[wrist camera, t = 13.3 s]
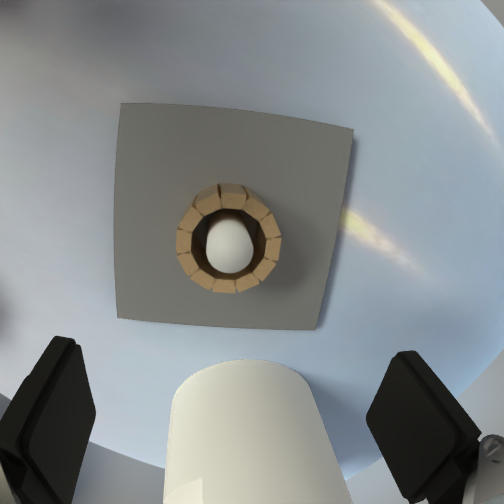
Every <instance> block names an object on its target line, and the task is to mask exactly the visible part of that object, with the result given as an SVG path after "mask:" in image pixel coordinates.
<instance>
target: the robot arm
mask: <svg viewBox="0 0 504 504" xmlns="http://www.w3.org/2000/svg"><path fill="white" fill-rule="evenodd" d="M95 417H96V410H95V405H94V402H93V398H92V394H91V390H90V386H89V382H88V378H87V373H86V369H85V364H84V359H83V354H82V349H81V346H80V345H78V344H76V342H75V340H74V339H72V338H66V337H61V336H55V337H54V338H53V339H52V340H51V342H50V343H49V345H48V346H47V348H46V349H45V351H44V353H43V354H42V356H41V357H40V359H39V360H38V362H37V363H36V365H35V367H34V368H33V370H32V371H31V373H30V375H28V376H27V377H26V378H25V379H24V381H23V382H22V384H21V386H20V387H19V389H18V391H17V392H16V394H15V396H14V397H13V399H12V401H11V403H10V405H9V406H8V408H7V410H6V411H5V413H4V415H3V417H2V419H1V421H0V504H71V503H72V499H73V495H74V491H75V487H76V483H77V479H78V476H79V472H80V468H81V465H82V461H83V457H84V454H85V451H86V447H87V444H88V440H89V437H90V434H91V431H92V428H93V424H94V421H95ZM366 422H367V425H368V427H369V429H370V431H371V433H372V435H373V437H374V439H375V441H376V443H377V445H378V447H379V449H380V451H381V453H382V455H383V457H384V459H385V461H386V463H387V465H388V467H389V469H390V471H391V473H392V476H393V478H394V480H395V482H396V484H397V486H398V488H399V490H400V492H401V494H402V496H403V497H404V498H406V499H408V501H409V503H410V504H415V503H417V502H420V501H423V500H424V499H425V498H427V500H428V504H504V438H503V437H501V436H499V435H494V434H491V435H487V436H485V437H484V438H483V439H482V440H481V441H480V442H479V441H478V440H477V439H478V437H479V436H480V435H481V434H482V432H481V431H480V430H479V429H478V427H477V426H476V425H475V423H474V422H473V421H472V419H471V418H470V417H469V416H468V414H467V413H466V412H465V410H464V409H463V408H462V407H461V405H460V404H459V403H458V401H457V400H456V399H455V398H454V396H453V395H452V394H451V393H450V391H449V390H448V389H447V388H446V386H445V385H444V384H443V383H442V382H441V380H440V379H439V378H438V377H437V375H436V374H435V373H434V372H433V371H432V369H431V368H430V367H429V366H428V365H427V363H426V362H425V361H424V360H423V359H422V357H421V356H420V355H419V354H418V353H417V352H416V351H402V352H398V353H397V354H396V356H395V357H393V358H392V360H391V362H390V364H389V366H388V369H387V371H386V373H385V376H384V378H383V380H382V383H381V385H380V387H379V389H378V391H377V394H376V396H375V398H374V400H373V402H372V404H371V406H370V408H369V410H368V412H367V415H366Z"/></svg>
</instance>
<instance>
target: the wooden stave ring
mask: <svg viewBox="0 0 504 504" xmlns="http://www.w3.org/2000/svg"><path fill="white" fill-rule="evenodd" d="M221 208H230V209H241V210H244V211H245V212H247V213H248V214H250V215H251V216H252V217H254V218H255V219H257V229H256V237H255V238H254V239H253V241H252V245H253V256H252V259H251V261H250V263H249V264H248V265H247V266H246V267H245V268H244V269H242V270H240V271H238V272H235V273H224V272H221V271H219V270H217V269H215V268H214V267H213V266H212V265H211V264H210V262H209V260H208V258H207V254H206V248H205V247H203V246H202V245H201V243H200V241H199V239H198V237H197V235H196V233H195V227H196V226H197V225H198V223H199V222H200V220H201V219H202V217H203V216H205V215H207V214H210V213H212V212H214V211H216V210H218V209H221ZM280 235H281V233H280V231H279V228H278V226H277V223H276V221H275V219H274V216H273V214H272V212H271V211H270V210H269V208H268V207H267V206H266V205H265V203H264V202H263V201H262V199H261V198H260V197H259V196H257V195H256V194H255V193H253V192H252V191H250V190H249V189H248V188H246V187H245V186H243V188H242V186H241V185H240V184H230V183H220V188H219V186H218V184H214V185H212V186H210V187H208V188H206V189H204V190H201V191H199V193H198V195H197V194H196V195H195V196H194V198H193V199H192V201H191V202H190V203H189V205H188V206H187V208H186V209H185V211H184V213H183V216H182V218H181V220H180V223H179V225H178V228H177V236H176V253H177V258H178V260H179V262H180V264H181V266H182V267H183V269H184V271H185V273H186V275H187V276H189V275H190V279H191V280H192V281H194V282H196V283H197V284H199V285H201V286H202V287H204V288H205V289H207V290H210V289H211V287H212V286H213V292H222V293H235V291H236V288H237V290H238V292H242V291H244V290H246V289H249V288H251V287H253V286H256V285H258V284H260V283H259V280H258V279H260V280H261V281H263V280H264V279H265V278H266V277H267V275H268V274H269V273H270V272H271V270H272V269H273V268H274V267H275V265H276V262H275V260H277V261H278V259H279V252H280V246H281V239H282V238H281V237H280Z"/></svg>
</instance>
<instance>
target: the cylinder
mask: <svg viewBox="0 0 504 504" xmlns="http://www.w3.org/2000/svg"><path fill="white" fill-rule="evenodd" d="M163 504H353V502H352V499H351V497H350V494H349V491H348V488H347V486H346V483H345V480H344V477H343V475H342V472H341V469H340V467H339V464H338V461H337V459H336V456H335V453H334V450H333V448H332V445H331V442H330V440H329V437H328V434H327V432H326V429H325V426H324V424H323V421H322V418H321V416H320V413H319V410H318V408H317V405H316V402H315V400H314V397H313V394H312V392H311V390H310V387H309V385H308V383H307V382H306V381H305V380H304V379H303V378H302V377H301V376H300V375H299V374H298V373H297V372H295V371H294V370H292V369H290V368H288V367H286V366H284V365H282V364H277V363H273V362H269V361H265V360H249V359H241V360H234V361H227V362H221V363H218V364H215V365H212V366H209V367H207V368H204V369H202V370H200V371H198V372H197V373H195V374H193V375H192V376H190V377H189V378H187V379H186V380H185V381H184V383H183V384H182V385H181V386H180V387H179V388H178V389H177V391H176V393H175V396H174V398H173V401H172V406H171V416H170V425H169V435H168V446H167V457H166V469H165V483H164V498H163Z"/></svg>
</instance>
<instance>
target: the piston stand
mask: <svg viewBox="0 0 504 504" xmlns="http://www.w3.org/2000/svg"><path fill="white" fill-rule="evenodd" d="M353 131H354V129H350V128H345V127H341V126H336V125H331V124H326V123H321V122H316V121H311V120H305V119H300V118H294V117H288V116H281V115H275V114H268V113H261V112H253V111H245V110H237V109H227V108H217V107H206V106H192V105H176V104H150V103H121V111H120V119H119V129H118V140H117V152H116V167H115V188H114V270H115V291H116V306H117V318H123V319H132V320H142V321H151V322H162V323H173V324H185V325H198V326H212V327H229V328H248V329H274V330H315V329H316V325H317V321H318V317H319V313H320V308H321V304H322V300H323V296H324V291H325V287H326V282H327V278H328V273H329V269H330V264H331V259H332V255H333V250H334V245H335V240H336V235H337V230H338V224H339V219H340V214H341V208H342V202H343V197H344V191H345V185H346V179H347V172H348V166H349V159H350V153H351V146H352V138H353ZM220 183H230V184H240V185H241V186H242V188H243V186H245V187H246V188H248V189H249V190H250V191H252V192H253V193H255V194H256V195H257V196H259V197H260V198H261V199H262V201H263V202H264V203H265V205H266V206H267V207H268V208H269V210H270V211H271V212H272V214H273V216H274V219H275V221H276V223H277V226H278V228H279V231H280V233H281V235H280V237H281V238H282V239H281V246H280V252H279V259H278V261H277V260H275V262H276V265H275V267H274V268H273V269H272V270H271V272H270V273H269V274H268V275H267V277H266V278H265V279H264V280H263V281H261V280H260V279H258V280H259V283H260V284H258V285H256V286H253V287H251V288H249V289H246V290H244V291H242V292H238V290H237V288H236V291H235V293H222V292H213V286H212V287H211V289H210V290H207V289H205V288H204V287H202V286H201V285H199V284H197V283H196V282H194V281H192V280H191V279H190V275H189V276H187V275H186V273H185V271H184V269H183V267H182V266H181V264H180V262H179V260H178V258H177V253H176V236H177V228H178V225H179V223H180V220H181V218H182V216H183V213H184V211H185V209H186V208H187V206H188V205H189V203H190V202H191V201H192V199H193V198H194V196H195V195H196V194H197V195H198V193H199V191H201V190H204V189H206V188H208V187H210V186H212V185H214V184H218V186H219V188H220ZM256 229H257V219H255V218H254V217H252V216H251V215H250V214H248V213H247V212H245V211H244V210H241V209H230V208H221V209H218V210H216V211H214V212H212V213H210V214H207V215H205V216H203V217H202V219H201V220H200V222H199V223H198V225H197V226H196V227H195V233H196V235H197V237H198V239H199V241H200V243H201V245H202V246H203V247H205V248H206V254H207V258H208V260H209V262H210V264H211V265H212V266H213V267H214V268H215V269H217V270H219V271H221V272H224V273H235V272H238V271H240V270H242V269H244V268H245V267H246V266H247V265H248V264H249V263H250V261H251V259H252V256H253V245H252V241H253V239H254V238H255V237H256Z"/></svg>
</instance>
